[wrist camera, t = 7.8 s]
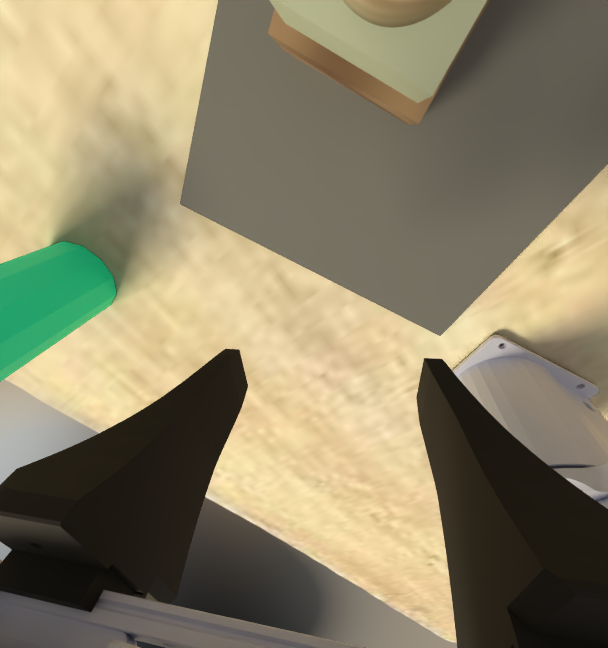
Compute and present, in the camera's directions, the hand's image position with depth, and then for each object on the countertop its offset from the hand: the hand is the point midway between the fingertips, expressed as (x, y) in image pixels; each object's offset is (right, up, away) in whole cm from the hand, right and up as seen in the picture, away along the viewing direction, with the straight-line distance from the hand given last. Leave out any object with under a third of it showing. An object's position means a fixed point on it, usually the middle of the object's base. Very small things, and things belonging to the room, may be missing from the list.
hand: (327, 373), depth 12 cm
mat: (+4, +12, +4) cm, 13 cm away
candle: (-19, +6, +13) cm, 24 cm away
